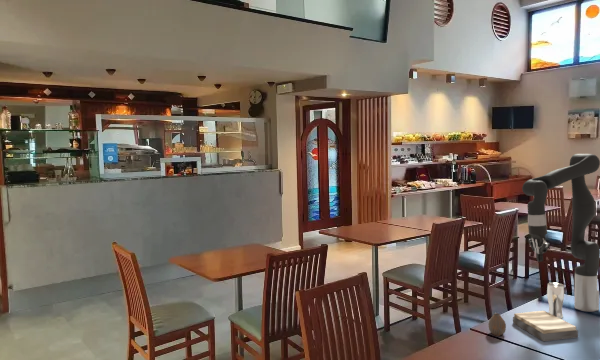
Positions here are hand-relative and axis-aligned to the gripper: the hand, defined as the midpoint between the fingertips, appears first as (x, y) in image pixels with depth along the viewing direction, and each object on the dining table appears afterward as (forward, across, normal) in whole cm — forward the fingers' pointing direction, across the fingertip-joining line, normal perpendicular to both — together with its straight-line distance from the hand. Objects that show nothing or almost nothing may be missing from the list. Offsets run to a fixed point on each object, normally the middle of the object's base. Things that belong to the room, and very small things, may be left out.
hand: (539, 261), depth 209 cm
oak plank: (+24, -16, +7) cm, 30 cm away
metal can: (+28, +2, -7) cm, 29 cm away
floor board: (+27, -11, +8) cm, 30 cm away
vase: (+26, -11, +29) cm, 41 cm away
